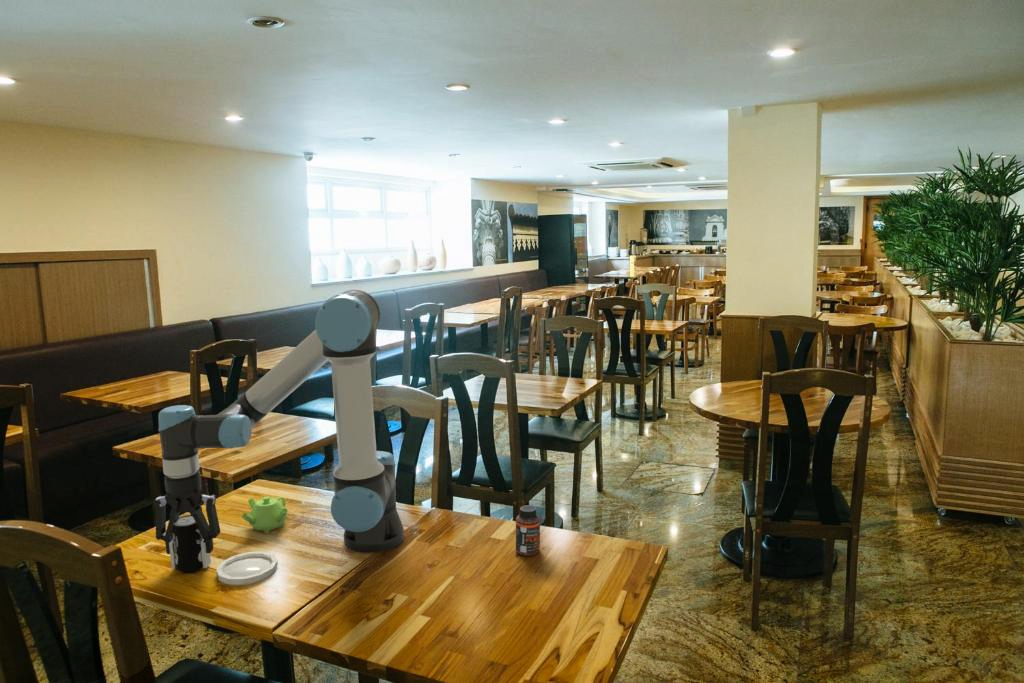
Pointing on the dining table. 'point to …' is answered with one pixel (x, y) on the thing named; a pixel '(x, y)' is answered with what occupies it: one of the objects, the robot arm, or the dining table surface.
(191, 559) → the beverage can
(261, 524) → the green rounded body
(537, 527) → the supplement bottle
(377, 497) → the robot arm
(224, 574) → the saucer
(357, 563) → the dining table surface
